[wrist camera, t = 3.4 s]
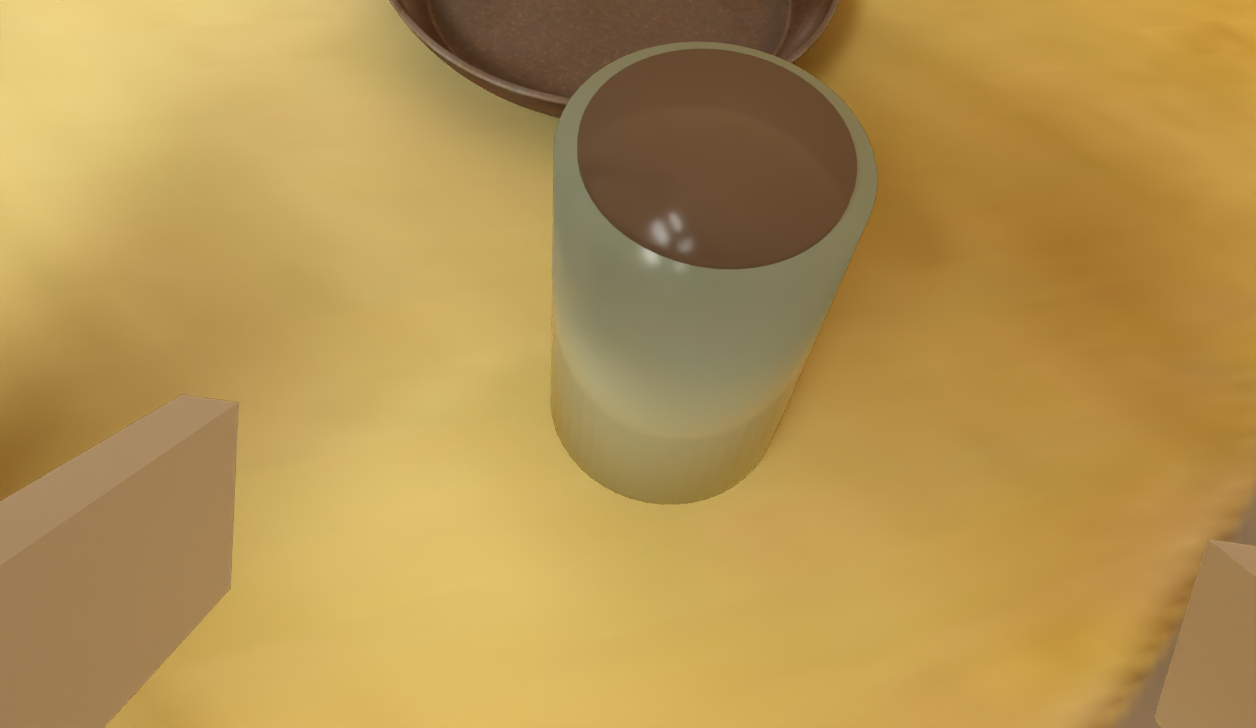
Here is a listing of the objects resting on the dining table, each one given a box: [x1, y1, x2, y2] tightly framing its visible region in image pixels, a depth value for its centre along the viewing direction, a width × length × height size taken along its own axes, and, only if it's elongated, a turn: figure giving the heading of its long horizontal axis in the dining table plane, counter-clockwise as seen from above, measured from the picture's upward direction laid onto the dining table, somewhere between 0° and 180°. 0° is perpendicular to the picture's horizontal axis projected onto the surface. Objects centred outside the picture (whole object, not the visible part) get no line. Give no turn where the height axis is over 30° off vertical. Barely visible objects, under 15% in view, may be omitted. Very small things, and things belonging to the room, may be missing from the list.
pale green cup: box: [551, 42, 877, 504], centre depth 26 cm, size 7×7×11 cm
